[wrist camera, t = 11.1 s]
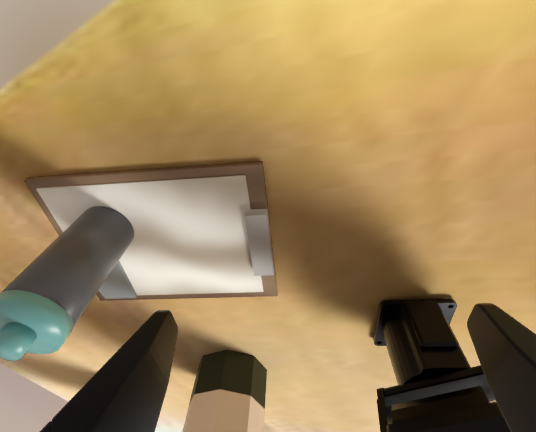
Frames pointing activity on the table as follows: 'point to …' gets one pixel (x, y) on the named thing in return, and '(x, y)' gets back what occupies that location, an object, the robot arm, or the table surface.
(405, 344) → the robot arm
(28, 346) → the water bottle
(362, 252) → the table surface
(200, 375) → the wine bottle
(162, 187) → the clipboard
